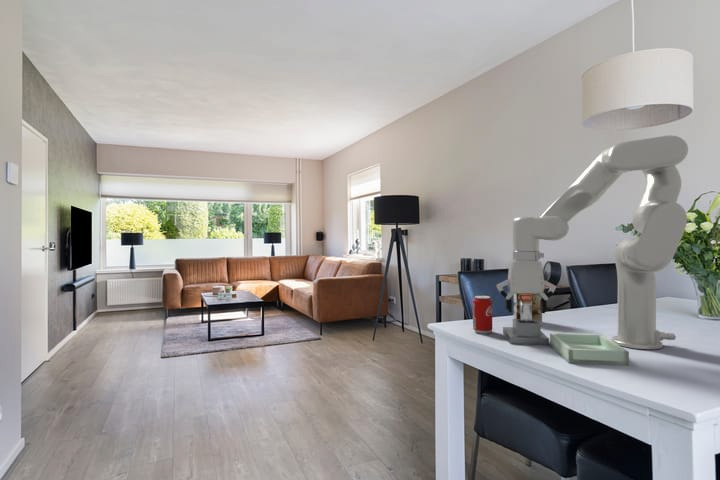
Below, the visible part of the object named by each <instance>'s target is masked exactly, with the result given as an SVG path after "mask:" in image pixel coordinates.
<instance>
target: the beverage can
mask: <svg viewBox="0 0 720 480" xmlns="http://www.w3.org/2000/svg"><path fill="white" fill-rule="evenodd" d="M472 330H474V332H475V333H477V334H483V335H484V334H486V335H487V334H490V333H491V332H492V331H493V300H492V299H491V296H489V295H475V296H474V298H473V300H472Z"/></svg>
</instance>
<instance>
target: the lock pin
mask: <svg viewBox="0 0 720 480" xmlns="http://www.w3.org/2000/svg"><path fill="white" fill-rule="evenodd" d="M518 299H520V303H521V323H532V300H533V299H534V295H531V294H519V295H518Z"/></svg>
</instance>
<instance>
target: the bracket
mask: <svg viewBox="0 0 720 480" xmlns="http://www.w3.org/2000/svg"><path fill="white" fill-rule="evenodd" d="M502 334H503V335H504V337H505V339H507V342H508V343H509V344H511V345H530V346H531V345H535V346H550V337H548V336H547V335H546V334H545V333H544V332H543V331H542V330H541V324H540V323H539V322H538V321H536V320H535V319H532V323H521V319H513V318H512V326H503V327H502Z"/></svg>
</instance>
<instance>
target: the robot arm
mask: <svg viewBox="0 0 720 480" xmlns="http://www.w3.org/2000/svg"><path fill="white" fill-rule="evenodd" d="M688 153H689V146H688V144H687V142H686V140H684V139H683V138H681V137H680V136H677V135H671V134H670V135H661V136H655V137H648V138H641V139H634V140H629V141H622V142H617V143H616V144H614V145H612V146H610V147H608V148H605V149H604V150H603V151H602V152H601V153H599V155H597V156H596V158H595V159H594V160H593V161H592V162H591V163H590V164H589V166H587V167H586V169H585V170H584V171H583V172H582V173H581V174H580V175H579V176H578V177H577V179H576V180H575V181H574V182H572V184H571V185H570V186H569V187H568V188H566V189H565V191H564V192H563V193H562V194H561V195H560V196H559V197H558V198H557V199H556V200H555V201H554V202H553V203H552V204H551V205H550V206H549V207H548V208H547V209H546V210H545V211H544V213H542V215H541V216H540V217H534V216H520V217H514V219H513V220H512V260H510V261H509V266H508V273H507V274H508V275H507V279H506V280H504V281H502V282H500V283H497V284H496V288H497V290H498V291H499V294H500V295H501V296H503V298H504V299H505V309H506V310H507V312H508V313H513V310H512V309H513V307H512V306H513V305H512V304H513V301H512V299H511V298H512V297H514V293H515V294H539V295H540V296H541V299H540V312H542V314H545V313H546V311H547V309H548V306H547V305H548V304H547V302H548V300H549V299H550V298H551V297H552V295H554V292H555V291H556V288H557V285H555V284H553V283H551V282H549V281H547V280H546V279H545V277H544V269H543V265H542V261H540V259H542V258H543V259H544V258H545V253H544V252H540V240H544V241H555V242H556V241H559V240H562V239H564V238H565V237H566V236H567V235H568V233H569V230H570V226H569V222H570V221H571V220H572V219H573V218H574V217H576V216H577V215H578V214H579V213H580V212H582V211H584V210H586V209H587V208H589V207H590V206H592V205H594V204H595V203H596V202H597V201H599V200H600V198H602V196H603V195H604V194H605V193H606V192H607V190H608V189H609V188H610V187H612V186H613V184H614V183H615V182H616V181H617V180H618V179H619V178H620V177H621V176H622V175H623V174H624V173H627V172H635V171H636V172H637V171H641V172H642V173H643V175H644V178H645V186H644V190H643V192H642V196H641V198H640V200H639V202H638V205H637V207H636V209H635V212H634V214H633V216H632V226H633V228H634V230H635V231H637V232H638V233H640V235H639V237H636V236H635V237H629V238H625V239H624V240H622V241H621V242H620V243H619V244H618V245H617V246H616V248H615V252H614V262H615V267H616V275H617V277H616V278H617V335H614V336H612V337H611V341H612V342H614V343H616V344H617V345H619V346H621V347H625V348H629V349H630V348H631V349H637V350H659V349H661V348H663V347H664V346H663V344H664V343H663V341H664V340H667V341H675V340H676V334H675V333H673V332H665V331H659V330H658V329H657V282H656V276H655V273H657V272H660V271H663V270H664V269H666V268H668V266H669V265H670V263H671V262H672V260H673V259H674V256H675V254H676V251H677V250H678V247H679V245H680V243H681V240H682V237H683V235H684V233H685V231H686V228H687V224H688V216H687V215H688V214H687V212H686V210H685V208H684V207H683V206H682V205H681V204H680V203H677V202H678V199H679V195H680V192H681V189H682V179H681V175H680V172H679V170H678V168H677V167H676V166H677V165H679V164H680V163H682V162H683V161H684V160H685V159H686V158H687V155H688ZM505 286H507V290H508V291H507V292H505V291H504V288H503V287H505ZM545 286H546V287H547V288H549V289H548V291H547V292H544V291H545Z"/></svg>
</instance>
